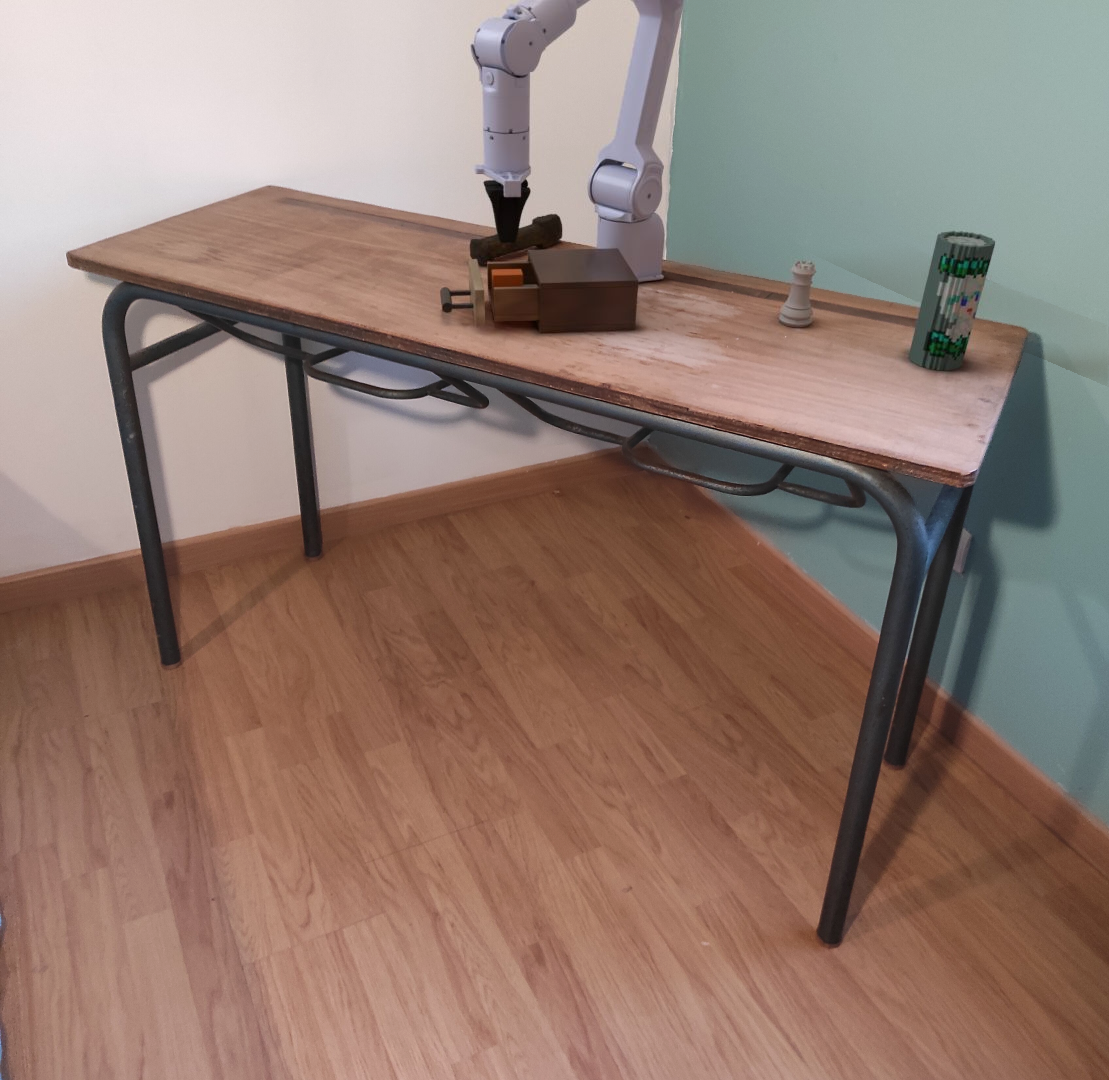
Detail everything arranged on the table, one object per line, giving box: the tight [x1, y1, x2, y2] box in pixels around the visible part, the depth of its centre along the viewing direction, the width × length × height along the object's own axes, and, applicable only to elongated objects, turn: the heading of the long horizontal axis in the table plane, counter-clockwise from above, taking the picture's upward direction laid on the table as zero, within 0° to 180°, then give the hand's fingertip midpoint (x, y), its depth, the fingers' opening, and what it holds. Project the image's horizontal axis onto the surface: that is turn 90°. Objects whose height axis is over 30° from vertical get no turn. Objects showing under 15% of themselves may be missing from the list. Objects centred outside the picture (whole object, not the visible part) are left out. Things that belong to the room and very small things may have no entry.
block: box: [492, 269, 538, 298], centre depth 129 cm, size 6×2×3 cm, turn 98°
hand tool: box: [469, 213, 563, 266], centre depth 151 cm, size 19×4×5 cm, turn 135°
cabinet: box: [527, 248, 640, 334], centre depth 129 cm, size 13×14×7 cm
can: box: [907, 230, 996, 372], centre depth 115 cm, size 6×6×15 cm
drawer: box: [439, 258, 540, 327], centre depth 127 cm, size 16×12×5 cm
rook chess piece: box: [778, 259, 817, 328], centre depth 127 cm, size 4×4×8 cm
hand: (507, 240), depth 126 cm, fingers closed
